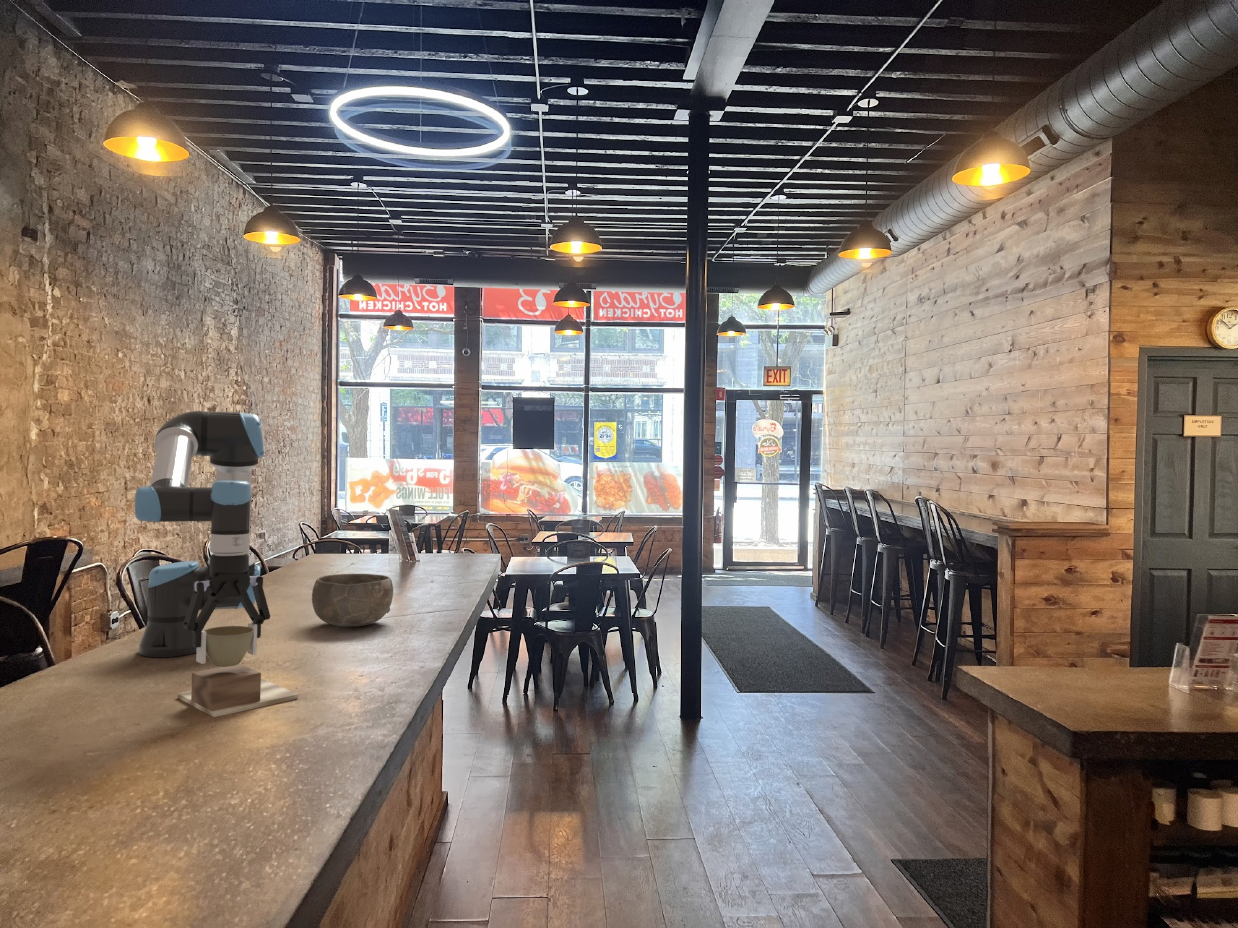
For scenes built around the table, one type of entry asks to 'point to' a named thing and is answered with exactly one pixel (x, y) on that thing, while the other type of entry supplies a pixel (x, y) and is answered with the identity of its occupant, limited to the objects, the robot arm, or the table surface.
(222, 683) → the pedestal
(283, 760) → the table surface
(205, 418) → the robot arm
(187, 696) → the board
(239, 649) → the flower pot
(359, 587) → the bowl
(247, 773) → the table surface
